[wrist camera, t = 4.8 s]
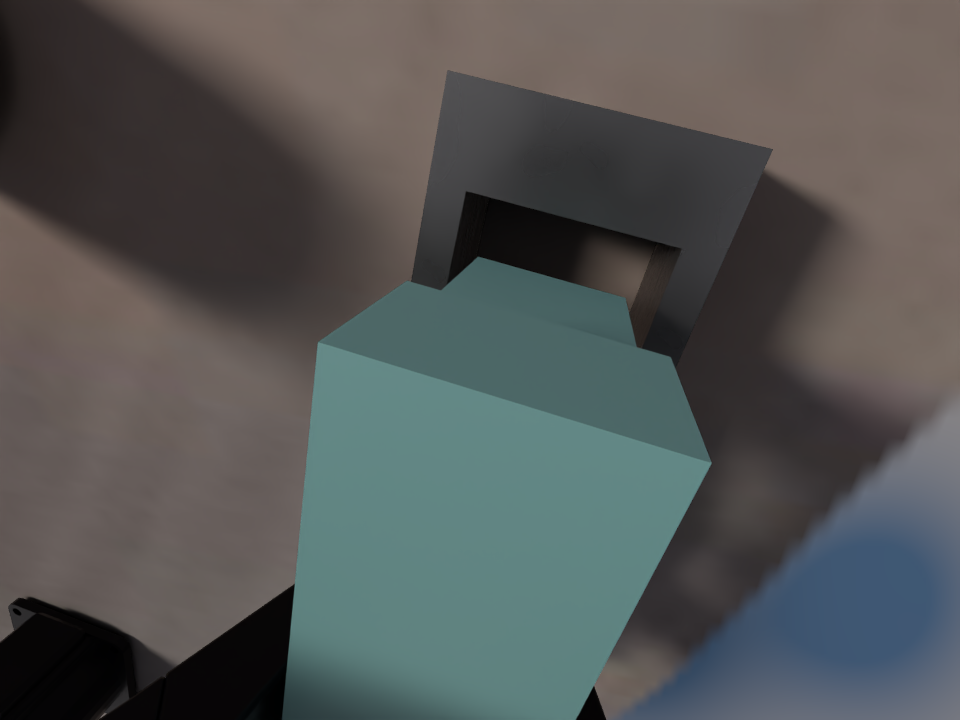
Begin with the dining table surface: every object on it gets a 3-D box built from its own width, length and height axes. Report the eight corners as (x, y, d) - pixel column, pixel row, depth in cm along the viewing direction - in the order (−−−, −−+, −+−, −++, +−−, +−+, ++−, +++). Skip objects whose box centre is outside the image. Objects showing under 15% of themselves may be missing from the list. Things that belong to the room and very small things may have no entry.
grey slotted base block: (539, 612, 18) (530, 694, 15) (386, 559, 19) (351, 628, 16) (730, 150, 11) (773, 149, 9) (480, 89, 12) (447, 70, 9)
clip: (497, 640, 14) (429, 995, 8) (398, 605, 14) (262, 923, 8) (636, 268, 9) (710, 463, 3) (485, 227, 10) (317, 341, 4)
